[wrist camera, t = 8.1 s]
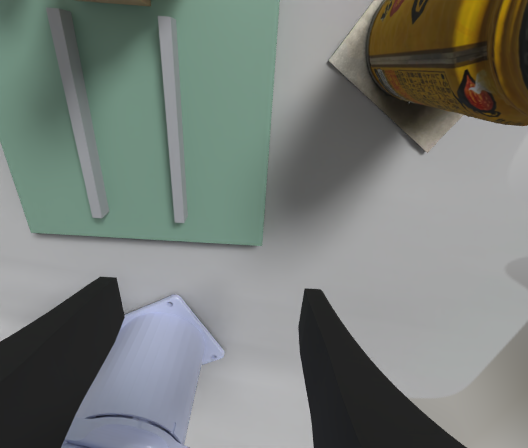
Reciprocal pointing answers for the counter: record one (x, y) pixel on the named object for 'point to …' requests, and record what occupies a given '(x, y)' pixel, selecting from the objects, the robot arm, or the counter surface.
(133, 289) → the counter surface
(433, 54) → the condiment
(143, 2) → the grey and tan mallet
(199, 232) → the pitch
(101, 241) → the counter surface
